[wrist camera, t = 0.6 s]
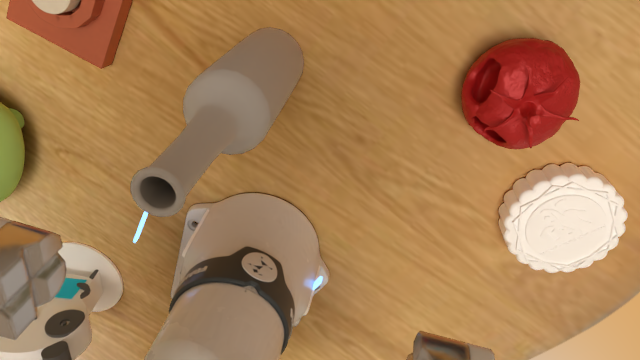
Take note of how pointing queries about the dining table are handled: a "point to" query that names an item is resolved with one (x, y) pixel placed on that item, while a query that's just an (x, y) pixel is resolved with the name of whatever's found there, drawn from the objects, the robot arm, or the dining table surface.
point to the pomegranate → (520, 92)
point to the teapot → (10, 150)
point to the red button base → (77, 27)
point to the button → (56, 5)
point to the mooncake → (562, 218)
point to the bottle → (222, 116)
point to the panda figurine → (69, 308)
